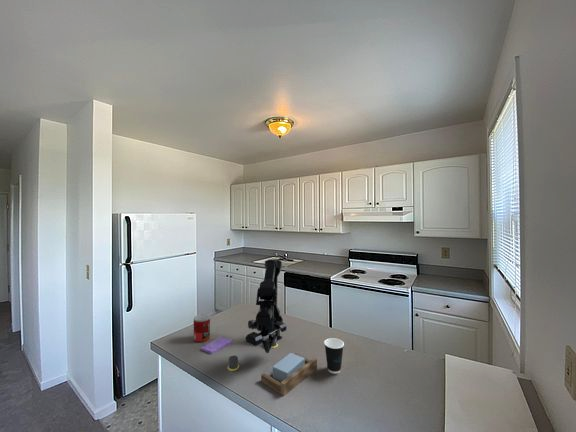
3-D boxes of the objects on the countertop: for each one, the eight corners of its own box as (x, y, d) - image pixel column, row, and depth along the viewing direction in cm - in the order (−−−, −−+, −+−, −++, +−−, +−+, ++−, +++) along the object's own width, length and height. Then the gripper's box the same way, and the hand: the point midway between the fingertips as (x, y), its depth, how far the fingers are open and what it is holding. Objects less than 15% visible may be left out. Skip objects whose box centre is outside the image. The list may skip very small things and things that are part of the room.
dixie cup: (339, 378, 96) (339, 350, 96) (320, 371, 101) (320, 344, 101) (347, 368, 103) (347, 341, 103) (329, 362, 107) (329, 336, 107)
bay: (295, 358, 110) (295, 349, 110) (317, 369, 102) (317, 359, 102) (261, 381, 95) (261, 370, 95) (283, 395, 87) (283, 384, 87)
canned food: (205, 343, 124) (205, 321, 124) (190, 341, 125) (190, 319, 125) (212, 336, 131) (212, 314, 131) (198, 334, 133) (198, 313, 133)
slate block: (290, 363, 107) (290, 352, 107) (304, 369, 103) (304, 358, 103) (272, 378, 97) (272, 366, 97) (287, 385, 93) (287, 373, 93)
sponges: (201, 351, 118) (201, 347, 118) (221, 339, 128) (221, 336, 128) (211, 355, 114) (211, 351, 114) (231, 343, 124) (231, 339, 124)
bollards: (272, 342, 124) (272, 334, 124) (279, 345, 121) (279, 337, 121) (225, 368, 103) (225, 358, 103) (232, 372, 100) (232, 362, 100)
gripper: (269, 305, 119) (269, 338, 119) (237, 317, 105) (237, 355, 105) (287, 311, 112) (287, 346, 112) (255, 324, 98) (255, 365, 98)
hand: (267, 352), depth 107 cm, fingers closed
